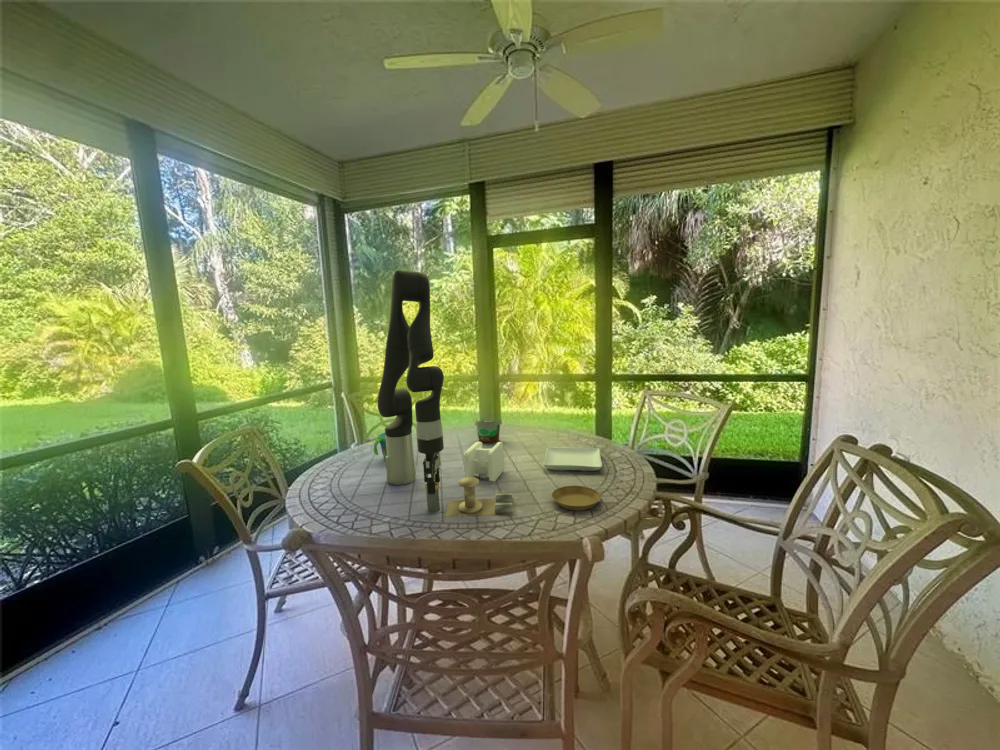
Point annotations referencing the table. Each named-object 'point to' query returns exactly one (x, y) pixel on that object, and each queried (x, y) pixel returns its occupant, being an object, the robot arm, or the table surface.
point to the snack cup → (383, 445)
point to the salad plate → (572, 458)
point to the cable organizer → (484, 461)
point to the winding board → (485, 506)
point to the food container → (488, 431)
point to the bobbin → (469, 496)
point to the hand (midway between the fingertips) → (434, 487)
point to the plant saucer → (576, 497)
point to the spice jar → (433, 499)
